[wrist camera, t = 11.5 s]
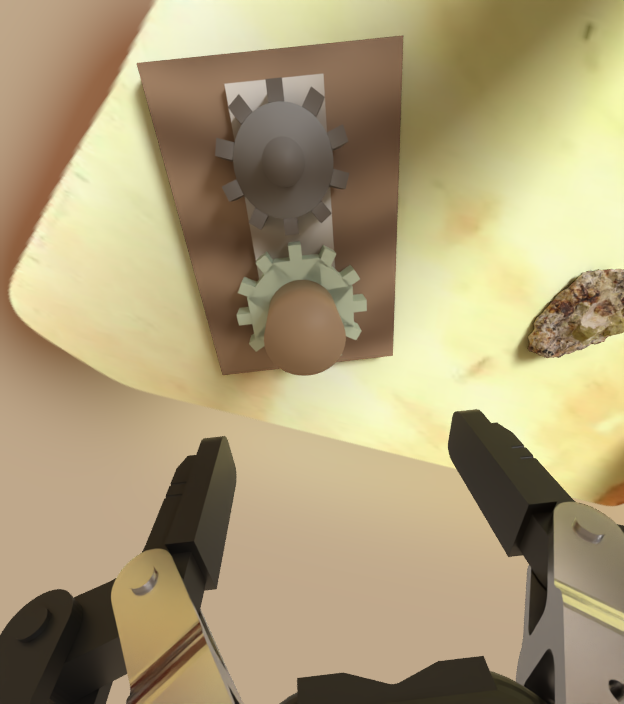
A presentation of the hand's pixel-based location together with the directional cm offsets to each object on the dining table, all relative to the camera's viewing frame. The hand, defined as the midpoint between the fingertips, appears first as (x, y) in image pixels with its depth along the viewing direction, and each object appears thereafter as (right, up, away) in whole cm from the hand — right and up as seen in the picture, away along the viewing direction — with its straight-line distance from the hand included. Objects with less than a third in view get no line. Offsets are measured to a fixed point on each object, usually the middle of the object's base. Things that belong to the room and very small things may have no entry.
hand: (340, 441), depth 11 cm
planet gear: (-2, +7, +14) cm, 16 cm away
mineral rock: (+25, +7, +19) cm, 32 cm away
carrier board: (-3, +12, +14) cm, 19 cm away
